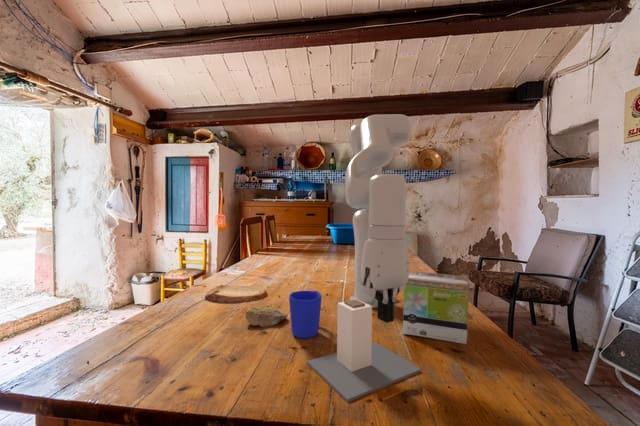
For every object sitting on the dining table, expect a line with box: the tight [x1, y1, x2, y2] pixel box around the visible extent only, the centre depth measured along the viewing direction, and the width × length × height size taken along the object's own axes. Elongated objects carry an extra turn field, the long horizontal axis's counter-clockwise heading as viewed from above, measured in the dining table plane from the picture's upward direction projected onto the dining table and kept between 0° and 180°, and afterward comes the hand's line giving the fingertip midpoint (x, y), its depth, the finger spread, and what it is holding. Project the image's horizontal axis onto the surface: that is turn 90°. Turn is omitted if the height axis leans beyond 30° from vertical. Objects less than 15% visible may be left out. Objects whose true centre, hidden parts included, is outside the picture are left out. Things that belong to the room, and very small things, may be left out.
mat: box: [306, 340, 422, 403], centre depth 60 cm, size 18×14×1 cm
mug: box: [288, 290, 322, 339], centre depth 77 cm, size 8×12×10 cm
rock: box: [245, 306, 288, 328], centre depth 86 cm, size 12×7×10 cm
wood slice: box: [204, 284, 269, 303], centre depth 107 cm, size 18×18×4 cm
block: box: [336, 299, 373, 372], centre depth 61 cm, size 5×5×12 cm
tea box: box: [402, 270, 470, 345], centre depth 77 cm, size 15×10×15 cm, turn 70°
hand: (385, 319), depth 63 cm, fingers closed
